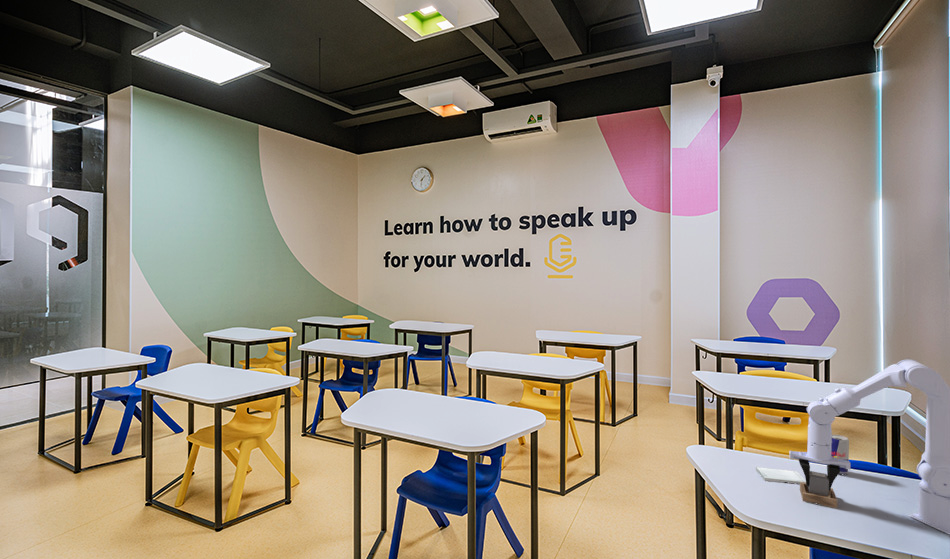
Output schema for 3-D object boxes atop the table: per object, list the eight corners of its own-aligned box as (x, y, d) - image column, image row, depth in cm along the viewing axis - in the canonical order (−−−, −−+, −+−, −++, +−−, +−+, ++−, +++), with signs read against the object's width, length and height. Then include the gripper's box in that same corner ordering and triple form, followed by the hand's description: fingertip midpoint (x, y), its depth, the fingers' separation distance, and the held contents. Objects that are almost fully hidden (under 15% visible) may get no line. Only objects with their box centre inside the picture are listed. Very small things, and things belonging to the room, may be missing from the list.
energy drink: (826, 472, 155) (827, 437, 155) (829, 467, 159) (830, 433, 158) (846, 477, 151) (848, 441, 151) (849, 472, 155) (850, 437, 155)
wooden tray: (832, 496, 139) (832, 488, 139) (837, 508, 132) (837, 500, 132) (799, 489, 143) (800, 482, 143) (802, 501, 136) (803, 493, 136)
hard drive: (764, 477, 149) (808, 481, 146) (755, 466, 157) (796, 470, 154) (764, 482, 149) (807, 486, 146) (755, 471, 157) (796, 475, 154)
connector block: (826, 490, 138) (826, 472, 138) (828, 496, 134) (829, 478, 134) (807, 486, 140) (808, 468, 140) (809, 492, 136) (810, 474, 136)
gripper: (847, 442, 137) (846, 487, 137) (788, 433, 144) (787, 475, 144) (852, 450, 130) (851, 497, 131) (791, 440, 138) (789, 485, 138)
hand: (818, 486), depth 137 cm, fingers closed on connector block, 4 cm apart
